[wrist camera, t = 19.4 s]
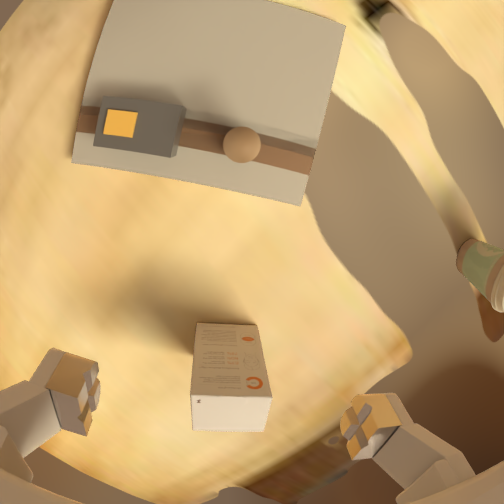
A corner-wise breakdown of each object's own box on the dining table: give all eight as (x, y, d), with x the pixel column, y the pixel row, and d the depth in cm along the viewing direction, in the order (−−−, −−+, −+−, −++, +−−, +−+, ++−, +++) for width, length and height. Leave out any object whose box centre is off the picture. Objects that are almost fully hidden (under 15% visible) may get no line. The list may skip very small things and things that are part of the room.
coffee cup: (491, 244, 39) (540, 273, 28) (466, 287, 42) (511, 324, 30) (468, 220, 37) (524, 248, 26) (441, 268, 40) (491, 306, 28)
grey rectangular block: (105, 144, 28) (91, 146, 25) (114, 99, 27) (102, 95, 23) (176, 155, 30) (169, 158, 26) (186, 109, 28) (181, 105, 25)
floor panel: (77, 161, 30) (71, 162, 29) (124, -11, 23) (120, -16, 22) (297, 203, 34) (300, 206, 33) (341, 29, 27) (345, 25, 26)
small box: (195, 358, 41) (190, 431, 29) (196, 321, 39) (188, 394, 26) (253, 360, 42) (264, 433, 30) (258, 324, 40) (273, 396, 27)
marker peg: (220, 155, 30) (219, 159, 24) (226, 127, 29) (226, 123, 23) (249, 160, 31) (256, 166, 24) (255, 132, 30) (263, 130, 23)
